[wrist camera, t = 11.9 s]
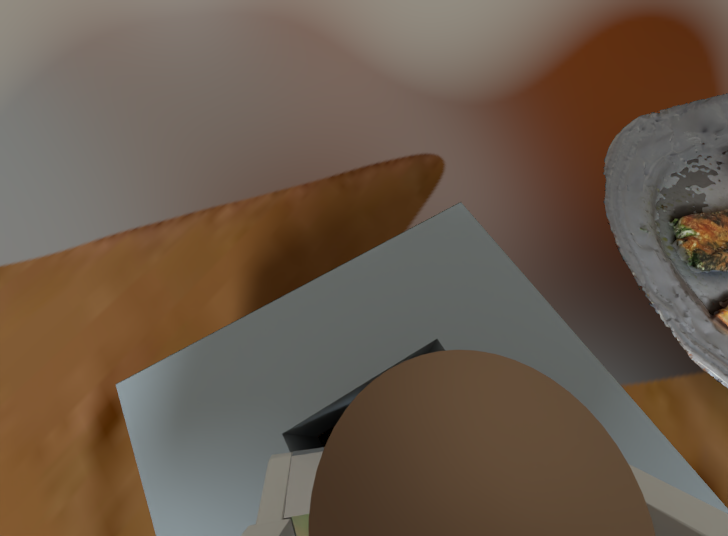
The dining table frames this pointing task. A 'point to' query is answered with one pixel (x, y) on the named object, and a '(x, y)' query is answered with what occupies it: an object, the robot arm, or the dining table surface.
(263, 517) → the robot arm
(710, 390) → the dining table surface
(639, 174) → the food plate
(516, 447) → the beige cylinder
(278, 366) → the collar block
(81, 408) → the dining table surface
